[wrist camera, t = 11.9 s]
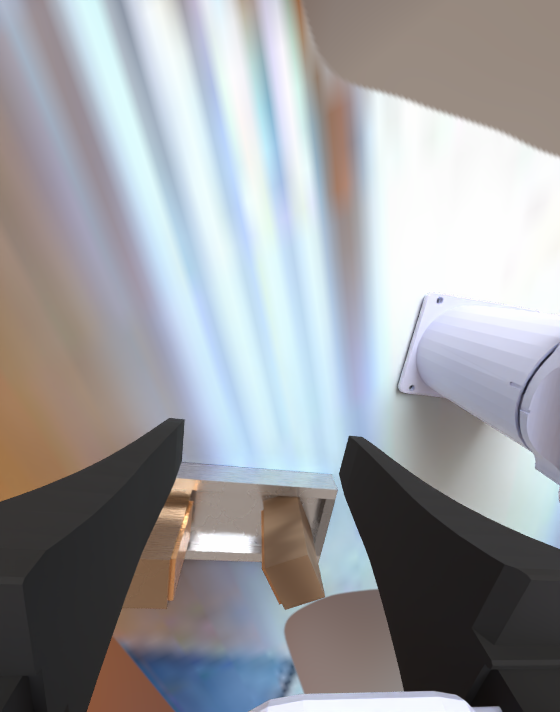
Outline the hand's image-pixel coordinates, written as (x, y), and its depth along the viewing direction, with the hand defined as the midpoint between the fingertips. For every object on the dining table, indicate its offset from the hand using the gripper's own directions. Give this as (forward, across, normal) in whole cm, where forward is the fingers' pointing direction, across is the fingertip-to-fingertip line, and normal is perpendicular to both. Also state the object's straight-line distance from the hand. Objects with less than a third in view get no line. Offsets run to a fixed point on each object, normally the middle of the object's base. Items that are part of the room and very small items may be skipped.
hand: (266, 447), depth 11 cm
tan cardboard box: (+8, -4, +12) cm, 16 cm away
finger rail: (+9, 0, +13) cm, 16 cm away
